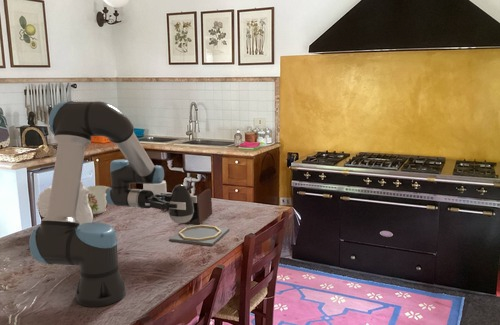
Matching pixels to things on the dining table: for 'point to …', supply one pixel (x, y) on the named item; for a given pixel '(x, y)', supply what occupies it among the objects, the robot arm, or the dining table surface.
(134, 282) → the dining table surface
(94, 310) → the dining table surface
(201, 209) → the letter holder
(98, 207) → the pitcher
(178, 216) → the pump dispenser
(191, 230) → the dock plate
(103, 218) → the dining table surface
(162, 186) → the toilet tissue
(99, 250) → the robot arm
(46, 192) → the decorative rooster
